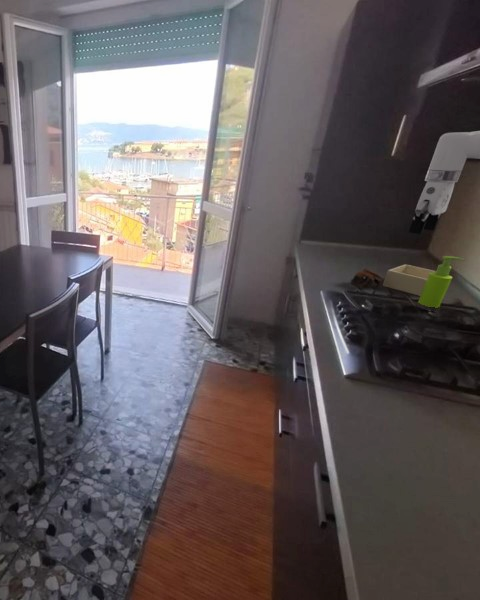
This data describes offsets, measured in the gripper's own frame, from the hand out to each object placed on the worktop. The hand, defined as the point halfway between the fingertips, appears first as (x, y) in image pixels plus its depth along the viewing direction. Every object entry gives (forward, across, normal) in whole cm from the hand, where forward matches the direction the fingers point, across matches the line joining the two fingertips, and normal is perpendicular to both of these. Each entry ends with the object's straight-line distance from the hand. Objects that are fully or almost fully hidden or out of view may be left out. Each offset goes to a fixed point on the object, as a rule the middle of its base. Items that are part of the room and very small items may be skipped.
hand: (421, 231), depth 117 cm
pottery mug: (+30, +19, +17) cm, 40 cm away
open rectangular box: (+30, +35, +7) cm, 47 cm away
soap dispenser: (+30, +15, -6) cm, 34 cm away
